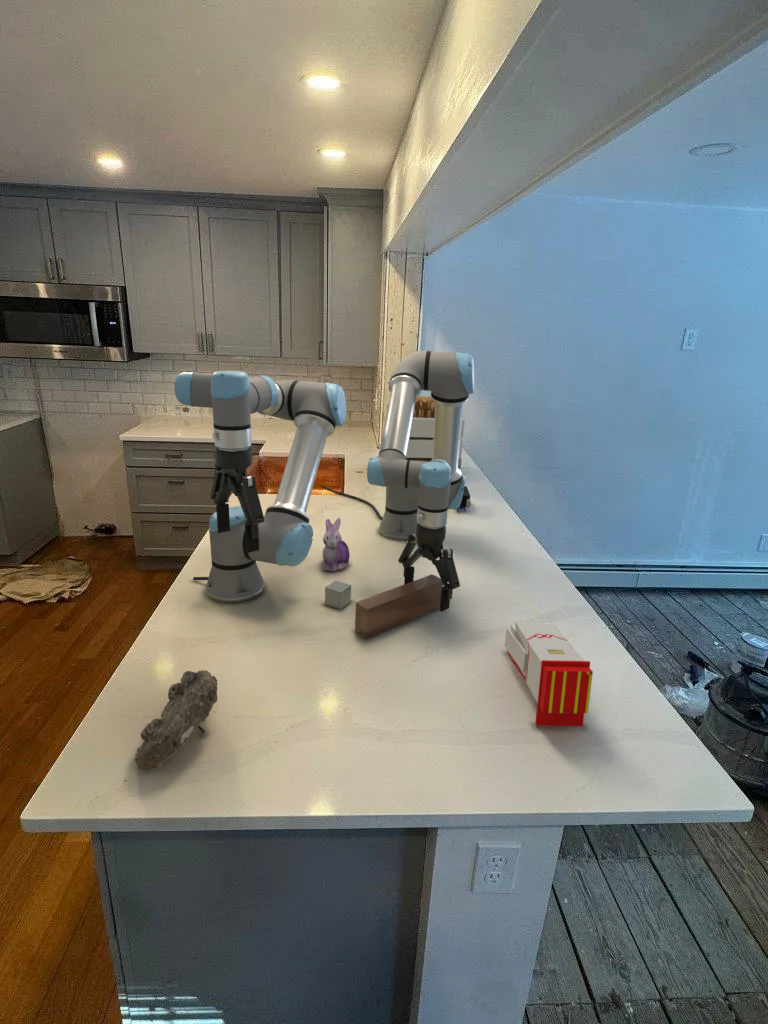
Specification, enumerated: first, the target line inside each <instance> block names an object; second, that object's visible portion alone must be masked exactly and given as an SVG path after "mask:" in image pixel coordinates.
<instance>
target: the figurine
mask: <svg viewBox="0 0 768 1024" xmlns="http://www.w3.org/2000/svg"><path fill="white" fill-rule="evenodd" d="M341 523H342V522H341V518H340V517H337V518H336V520H335V521H334V523H333V524H332V522H331V520H330V519H329V518H327V519H326V520H325V532H324V534H323V537H322V542H323V544H324V547H323V549H322V566H323V567H322V568H323V570H325V571H328V572H336V571H339V570H340V571H341V570H343V569H345V568H347V567H348V566H349V564H350V563H349V562H350V557H351V556H350V550H349V549H350V548H349V546H348V545H347V543H346V542H345V540H343V539H342V535H341V532H340V527H341Z"/></svg>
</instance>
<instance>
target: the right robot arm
mask: <svg viewBox="0 0 768 1024" xmlns="http://www.w3.org/2000/svg"><path fill="white" fill-rule="evenodd" d="M474 363H475V362H474V358H473V356H472V355H471V354H470V353H465V352H459V351H440V350H439V351H437V350H436V351H435V350H417V351H414V352H412V353H410V354H408V355H407V356H405V357H404V358H403V359H402V360H401V361H399V363H398V364H397V365H396V367H395V368H394V369H393V371H392V373H391V376H390V378H389V382H388V391H389V392H390V394H389V400H388V403H389V404H387V405H388V410H387V409H386V412H387V415H385V420H384V426H383V431H382V435H381V440H380V445H379V450H378V451H379V452H378V456H371V457H370V458H369V460H368V463H367V470H366V474H367V475H366V478H367V483H368V484H370V485H372V486H377V487H383V488H385V504H384V505H385V507H384V508H385V509H384V513H383V515H382V516H381V514H380V512H379V511H378V510H377V508H376V506H375V505H374V504H372V503H370V501H367V500H365V499H363V498H361V497H358V496H354V495H352V494H348V493H345V492H341V491H338V490H335V489H332V488H329V487H327V486H325V485H323V484H322V485H321V488H322V489H324V490H327V491H328V492H332V493H334V494H337V495H341V496H344V497H347V498H350V499H354V500H358V501H360V502H362V503H364V504H366V505H368V506H369V507H371V508H372V510H373V511H374V513H375V514H376V515H377V517H378V519H379V520H381V522H379V527H378V533H379V534H380V535H381V536H382V537H385V538H387V539H389V540H395V541H407V542H406V543H405V546H404V548H403V549H402V552H401V554H400V556H399V558H398V559H397V560H398V563H399V564H401V565H402V568H403V572H402V573H403V574H402V575H403V578H404V579H403V585H404V584H407V583H410V582H412V581H414V579H415V578H414V577H415V566H414V565H415V563H416V562H417V561H418V560H419V559H420V558H425V559H427V560H428V561H430V562H431V563H432V565H433V566H435V568H436V571H437V574H438V576H439V578H440V579H441V580H442V583H443V587H442V590H441V602H440V608H439V611H440V612H444V611H447V610H449V609H450V604H451V602H450V601H451V600H452V598H453V593H454V592H453V591H454V590H455V589H457V588H460V587H461V584H460V579H459V575H458V571H457V568H456V564H455V559H454V549H452V548H445V547H444V542H445V541H446V536H447V526H446V525H447V524H448V513H449V512H448V511H449V510H457V508H459V506H460V504H461V500H462V496H463V490H464V486H466V477H465V476H463V474H462V469H461V470H460V469H459V468H458V457H459V446H460V439H461V438H460V434H461V423H462V419H463V410H464V403H466V402H467V401H468V400H469V398H470V395H472V394H474V392H475V364H474ZM422 391H427V392H430V397H431V398H432V399H433V400H434V401H435V419H434V436H433V454H432V460H431V461H430V462H426V461H413V460H406V457H407V450H408V444H409V438H410V432H411V426H412V420H413V413H414V407H415V401H416V397H417V396H418V397H419V396H420V395H421V392H422ZM416 546H417V548H416V549H415V547H416ZM414 549H415V550H414ZM438 558H439V559H438Z"/></svg>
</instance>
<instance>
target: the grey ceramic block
mask: <svg viewBox="0 0 768 1024" xmlns="http://www.w3.org/2000/svg"><path fill="white" fill-rule="evenodd" d="M324 589H325V590H324V605H326V606H330V607H333V608H335V609H339V610H342V609H343V608H344V607H346V606H347V605H348V604H350V603H351V601H352V584H349V583H346V582H343V581H340V580H337V579H336V580H334V581H332V582H331V583H329V584H328V585H326V586H325V587H324Z"/></svg>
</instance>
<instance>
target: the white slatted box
mask: <svg viewBox="0 0 768 1024" xmlns="http://www.w3.org/2000/svg"><path fill="white" fill-rule="evenodd" d="M388 404H389V402H388ZM388 404H387V405H386V413H385V414H386V415H387V410H388ZM386 415H385V416H386ZM434 419H435V401H434V400H433V399H432V398H431V396H419V395H418V396H417V397H416V401H415V407H414V413H413V420H412V426H411V432H410V438H409V444H408V450H407V457H406V460H413V461H426V462H430V461H431V460H432V454H433V436H434ZM464 429H465V419H464V418H462V423H461V434H460V446H459V457H458V468H459V469H460V470H461V471H462V461H463V460H462V453H463V442H464V441H463V440H462V439H463V438H464V431H465V430H464Z"/></svg>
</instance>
